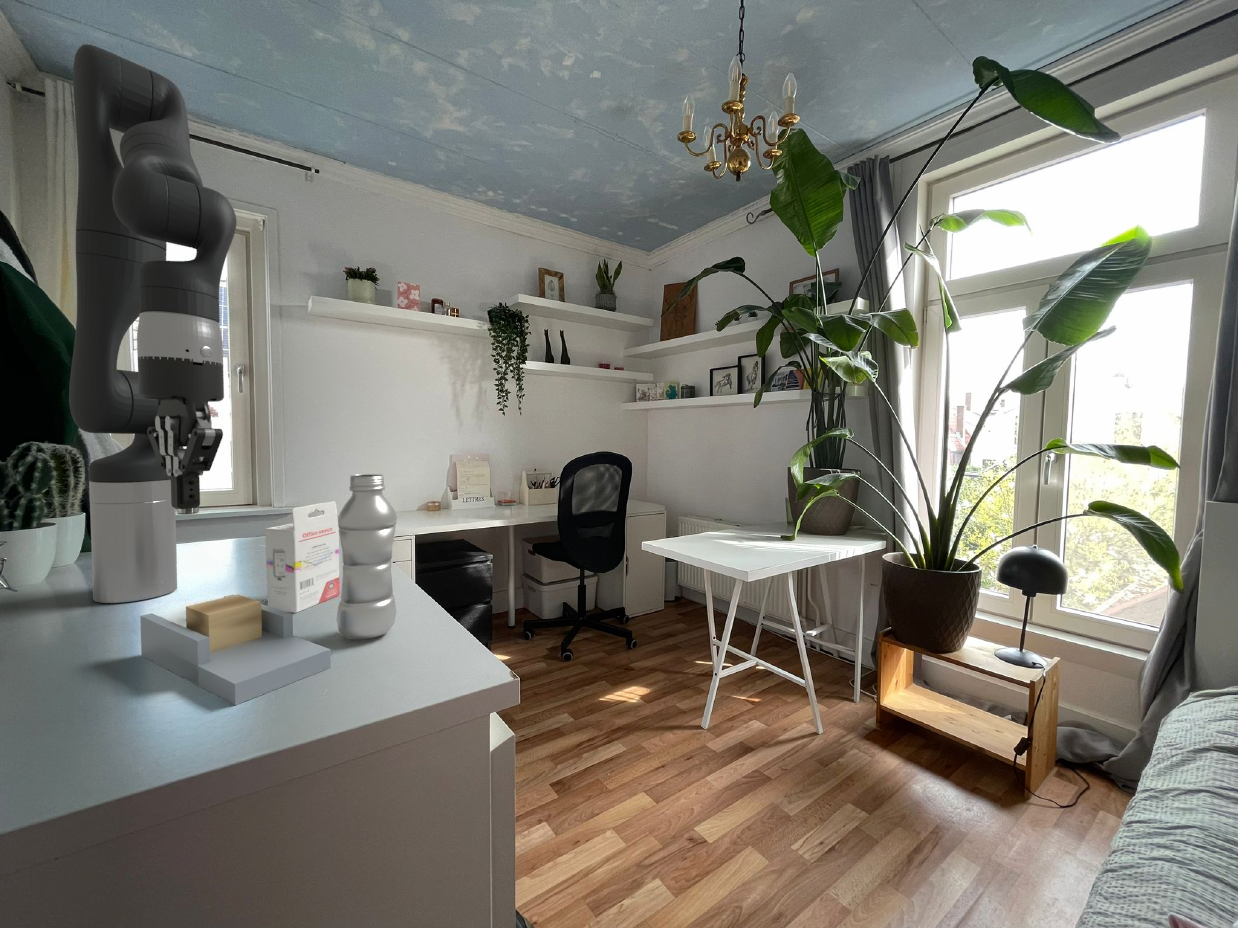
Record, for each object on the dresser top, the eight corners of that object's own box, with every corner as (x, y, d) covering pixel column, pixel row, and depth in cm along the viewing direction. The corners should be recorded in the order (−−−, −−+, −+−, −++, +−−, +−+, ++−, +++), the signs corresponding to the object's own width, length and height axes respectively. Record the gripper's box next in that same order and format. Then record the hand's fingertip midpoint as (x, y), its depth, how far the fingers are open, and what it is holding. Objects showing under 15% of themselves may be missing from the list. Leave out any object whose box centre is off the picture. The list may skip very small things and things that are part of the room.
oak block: (186, 642, 56) (185, 606, 56) (238, 627, 60) (237, 594, 60) (209, 652, 53) (208, 615, 53) (261, 636, 58) (261, 601, 58)
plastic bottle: (328, 635, 64) (327, 474, 62) (384, 621, 69) (383, 472, 67) (348, 651, 59) (347, 478, 58) (405, 635, 64) (405, 476, 63)
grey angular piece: (141, 655, 57) (140, 615, 56) (233, 629, 65) (233, 594, 64) (235, 705, 47) (234, 657, 47) (330, 667, 55) (330, 626, 55)
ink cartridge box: (313, 592, 80) (312, 498, 79) (340, 595, 79) (340, 500, 78) (264, 610, 72) (263, 506, 71) (295, 614, 71) (294, 508, 70)
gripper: (114, 357, 59) (119, 506, 60) (167, 350, 53) (172, 517, 54) (193, 365, 66) (197, 500, 67) (248, 360, 59) (251, 509, 60)
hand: (186, 507), depth 60 cm, fingers closed
